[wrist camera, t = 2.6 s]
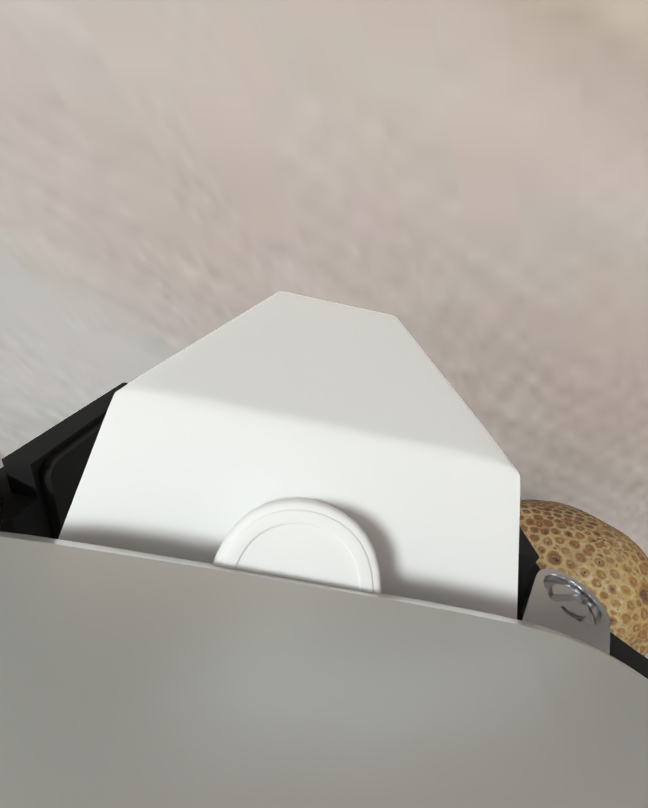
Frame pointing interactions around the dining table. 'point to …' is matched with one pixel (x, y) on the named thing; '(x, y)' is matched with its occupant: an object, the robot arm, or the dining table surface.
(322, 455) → the milk carton
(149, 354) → the dining table surface
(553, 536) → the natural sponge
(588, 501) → the dining table surface
